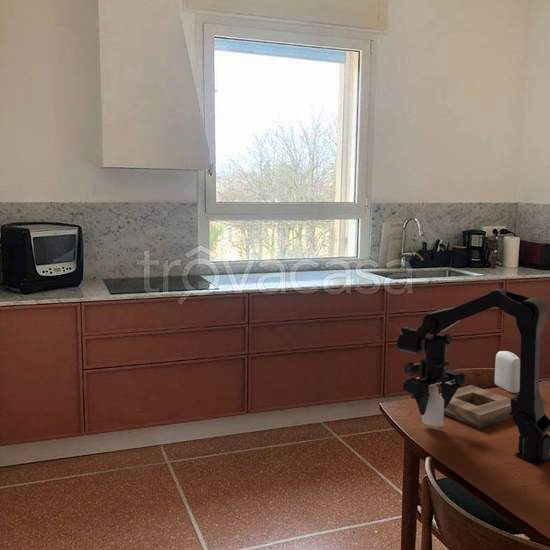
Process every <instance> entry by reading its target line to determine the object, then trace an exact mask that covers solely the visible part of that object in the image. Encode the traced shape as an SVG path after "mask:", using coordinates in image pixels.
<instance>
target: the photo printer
mask: <svg viewBox="0 0 550 550" xmlns="http://www.w3.org/2000/svg"><path fill="white" fill-rule="evenodd" d="M494 365H495V366H494V384H495V385H496V386H497V387H499V388H501V389H503V390H504V391H507V392H509V393H512V394H518V393H519V390H520V357H519V356H518V355H516V354H515V353H513V352H511V351H507V350H499V351H498V352H497V353H496V354H495V363H494Z"/></svg>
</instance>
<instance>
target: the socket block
mask: <svg viewBox="0 0 550 550" xmlns="http://www.w3.org/2000/svg"><path fill="white" fill-rule="evenodd" d="M438 395H439V396H441V397H442V392H441V393H438ZM511 399H512V398H510V397H506V396H504V395H500V394H498V393H495V392H492V391H489V390H486V389H483V388H480V387H478V386H475V385H472V384H471V385H470V384H469V385H466V386H463V387H459V388H458V390H457V391H456V393H455V394H454V396H453V397H452V399H451V401H450V402H449V404H448V406H447V408H446V409H444V415H445V414H446V415H445V416H447V415H448V417H450V418H452V417H453V418H452V419H455V420H457V421H460V422H461V423H465V424H467V425H470V426H472V427H475V428H477V429H483V428H485V427H489V426H492V425H495V424H498V423H501V422H504V421H507V420H509V419H512V415H510V412H511Z"/></svg>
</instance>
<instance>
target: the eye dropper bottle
mask: <svg viewBox="0 0 550 550" xmlns="http://www.w3.org/2000/svg"><path fill="white" fill-rule="evenodd" d="M428 393H429V394H430V396H429V400H428V403H427V407H426V411H425V414H424V415H421V416H422V419H421V421H422V423H423V424H425V425H428V426H431V427H435V428H440V427H443V425H444V417H445V414H444V399H443V398H442V397H441V396H439V395H438V394H439V387H438V386H437V385H433V386H429V391H428Z"/></svg>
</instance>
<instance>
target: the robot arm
mask: <svg viewBox="0 0 550 550" xmlns="http://www.w3.org/2000/svg"><path fill="white" fill-rule="evenodd" d="M494 307H495V308H498V309H500V310H501V311H503V312H505V313H506V314H508V315H510V316H512V317H513V318H514V317H515V323H516V324H515V325H516V327H517V330H518V332H519V335H520V355H519V356H520V357H519V359H520V390H519V392H518V393H516V394H515V395H514V396H513V397H512V398H510V399H511V412H510V415H512V418H511V419H512V422H513V424H514V425H516V426H517V429H518V433H519V435H518V445H517V446H518V448H517V450H518V452H515V457H518V458H521V459H523V460H525V461H528V462H530V463H532V464H535V465H538V466H539V465H541V464H542V465H543V464H544V463H547V462H550V435H549V432H550V418H549V417H548V416H547V414H546V413H545V407H544V406H545V405H544V401H543V397H542V395H541V393H540V388H539V387H540V361H541V360H540V359H541V356H540V355H541V335H542V332H543V329H544V327H545V324H546V320H547V316H548V308H549V307H548V305H547V303H546V302H545V301H544V300H542V299H541V298H539V297H531V298H530V297H527V296H526V295H522V294H519V293H515V292H511V291H508V290H506V289H504V288H497V289H494V290H491V291H489V292H488V293H487V294H484V295H481V296H479V297H477V298H475V299H472V300H470V301H467V302H465V303H462V304H460V305H458V306H455V307H448V308H444V309H438V310H435V311H434V312H430V313H428V314H426V315H424V316H423V319H422V324H421V325H420V326H419V327H418V329H416V328H411V327H409V326H404V327H401V332H400V334H399V336H398V339H397V341H396V343H397V345H396V346H397V349H398V350H399V351H401V352H407V353H412V354H417V355H420V354H421V353H422V352H424V358H422V359H420V362H418V363H414V362H413V361H410V362H409V361H408V362H405V363H404V367H403V369H404V373H405V374H406V375H409V377H410V378H408V379H405V380H404V381H403V382H402V390H403V391H405V392H408V393H410V394H411V395H413V397H414V399H415V401H416V405H417V408H418V411H419V414H420V415H421V416H422V415H424V414H425V411H426V407H427V403H428V400H429V396H430V394H429V387H430V386H433V385H436V386H437V385H439V387H440V388H441V389H440V390H441V393H442V398H443V399H444V409H446V408H447V406H448V404H449V402H450V401H451V399H452V397H453V396H454V394H455V393H456V391H457V390H458V388H462V387H461V385H464V384H466V383H465V382H466V381H465V380H466V377H465V375H464V372H461V371H459V370H454V369H452V368H449V369H447V366H450V361H449V360H447V345H451V344H452V343H454V342H455V341H456V339H455V338H453V337H452V336H451V335H450V333H445V334H444V335H443V334H441V333H442V332H445V331H446V330H448V329H450V328H452V327H453V326H455V325H456V324H457V323H459V322H460V321H461V320H464V319H466V318H470V317H472V316H474V315H476V314H480V313H481V312H484V311H487V310H490V309H492V308H494ZM440 334H441V335H440ZM430 335H431V336H430ZM413 376H415V377H413ZM416 376H418V378H416ZM419 378H420V379H419ZM422 379H423V380H422Z"/></svg>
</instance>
